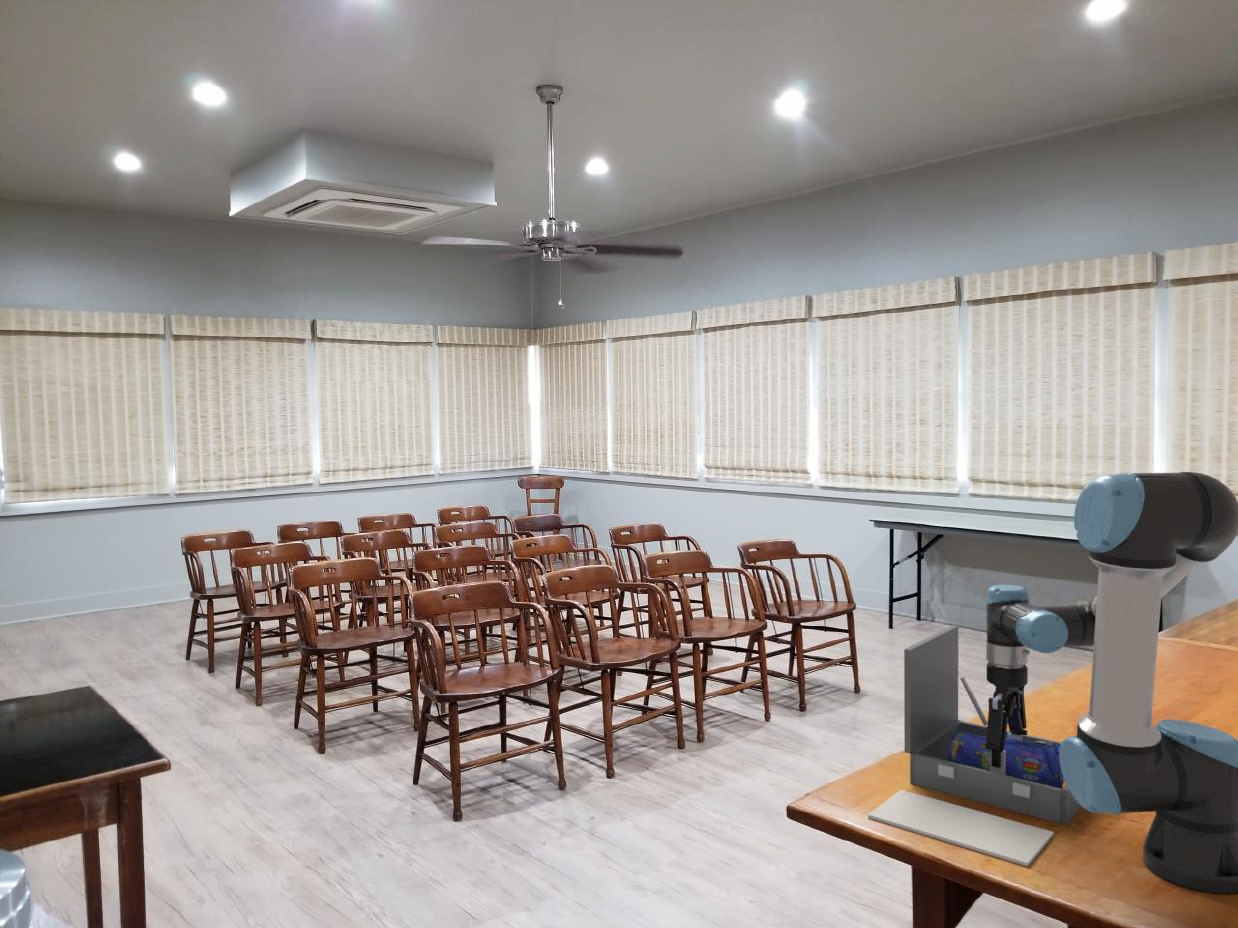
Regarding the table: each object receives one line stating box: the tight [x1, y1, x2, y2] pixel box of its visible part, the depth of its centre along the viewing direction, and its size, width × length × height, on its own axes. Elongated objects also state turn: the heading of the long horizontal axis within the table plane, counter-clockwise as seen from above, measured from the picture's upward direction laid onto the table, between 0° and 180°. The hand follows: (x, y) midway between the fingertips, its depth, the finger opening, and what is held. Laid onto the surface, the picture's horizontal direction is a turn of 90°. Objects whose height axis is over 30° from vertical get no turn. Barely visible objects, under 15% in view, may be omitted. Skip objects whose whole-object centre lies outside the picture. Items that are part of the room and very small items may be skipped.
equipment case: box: [903, 625, 1082, 826], centre depth 179 cm, size 26×30×27 cm
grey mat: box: [867, 789, 1055, 867], centre depth 161 cm, size 14×28×1 cm, turn 48°
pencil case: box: [947, 731, 1065, 789], centre depth 180 cm, size 22×9×10 cm, turn 62°
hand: (1006, 773), depth 180 cm, fingers closed on pencil case, 9 cm apart
